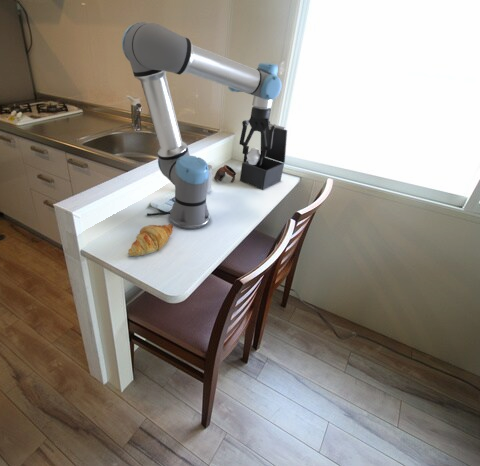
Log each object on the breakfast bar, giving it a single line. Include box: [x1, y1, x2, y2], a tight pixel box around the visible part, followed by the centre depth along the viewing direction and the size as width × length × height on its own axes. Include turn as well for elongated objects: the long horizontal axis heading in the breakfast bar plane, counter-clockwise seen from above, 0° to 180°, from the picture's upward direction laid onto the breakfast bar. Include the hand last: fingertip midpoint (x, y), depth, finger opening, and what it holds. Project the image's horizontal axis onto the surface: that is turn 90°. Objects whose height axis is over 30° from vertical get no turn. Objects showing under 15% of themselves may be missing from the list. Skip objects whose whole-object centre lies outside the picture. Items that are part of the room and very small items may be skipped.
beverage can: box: [207, 164, 214, 194], centre depth 143 cm, size 6×6×12 cm
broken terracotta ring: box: [213, 164, 237, 183], centre depth 156 cm, size 12×10×8 cm
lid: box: [260, 123, 288, 164], centre depth 154 cm, size 16×14×5 cm
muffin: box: [247, 147, 261, 165], centre depth 138 cm, size 6×6×7 cm
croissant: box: [127, 223, 174, 257], centre depth 107 cm, size 21×10×8 cm, turn 145°
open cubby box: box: [239, 157, 285, 190], centre depth 157 cm, size 16×14×9 cm
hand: (252, 162), depth 140 cm, fingers closed on muffin, 6 cm apart
